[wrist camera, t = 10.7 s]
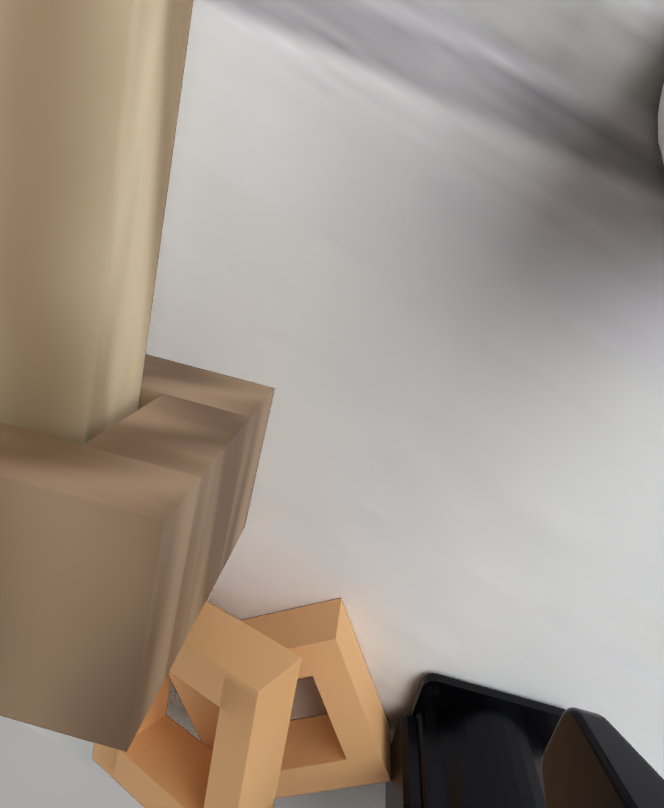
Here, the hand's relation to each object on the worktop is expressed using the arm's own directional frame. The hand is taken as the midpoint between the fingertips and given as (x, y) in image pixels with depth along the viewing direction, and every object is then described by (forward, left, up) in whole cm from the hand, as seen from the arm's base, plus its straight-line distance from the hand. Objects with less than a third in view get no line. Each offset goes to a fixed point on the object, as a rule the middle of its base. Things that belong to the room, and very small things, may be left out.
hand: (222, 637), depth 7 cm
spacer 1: (+2, +13, -10) cm, 16 cm away
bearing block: (+7, +3, -13) cm, 15 cm away
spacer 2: (-1, +13, -13) cm, 19 cm away
